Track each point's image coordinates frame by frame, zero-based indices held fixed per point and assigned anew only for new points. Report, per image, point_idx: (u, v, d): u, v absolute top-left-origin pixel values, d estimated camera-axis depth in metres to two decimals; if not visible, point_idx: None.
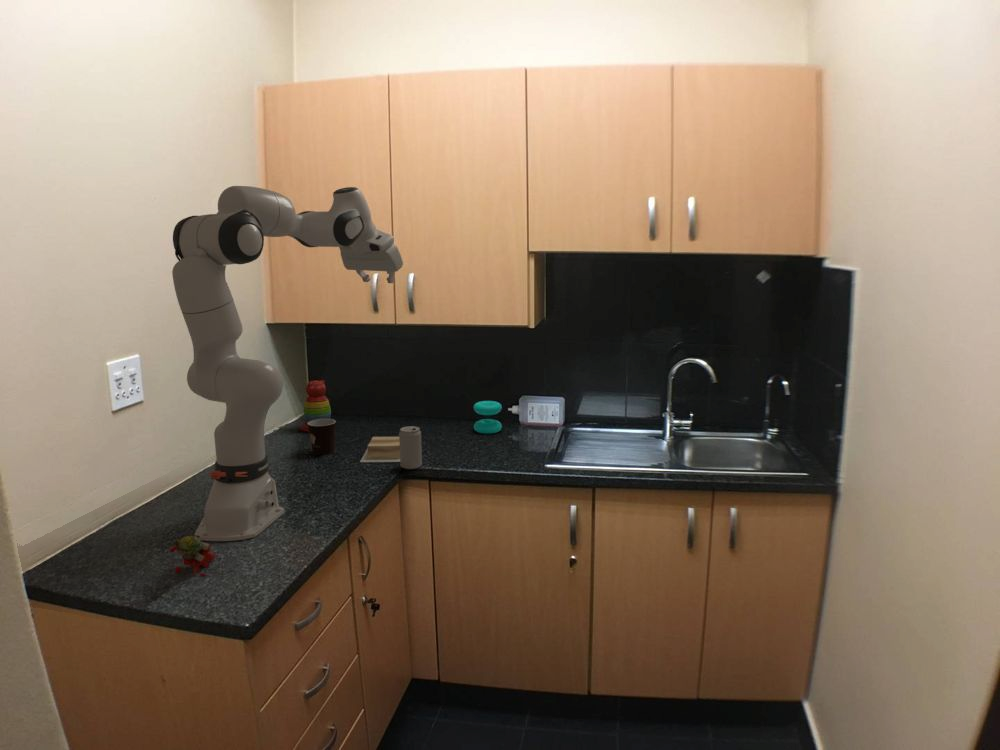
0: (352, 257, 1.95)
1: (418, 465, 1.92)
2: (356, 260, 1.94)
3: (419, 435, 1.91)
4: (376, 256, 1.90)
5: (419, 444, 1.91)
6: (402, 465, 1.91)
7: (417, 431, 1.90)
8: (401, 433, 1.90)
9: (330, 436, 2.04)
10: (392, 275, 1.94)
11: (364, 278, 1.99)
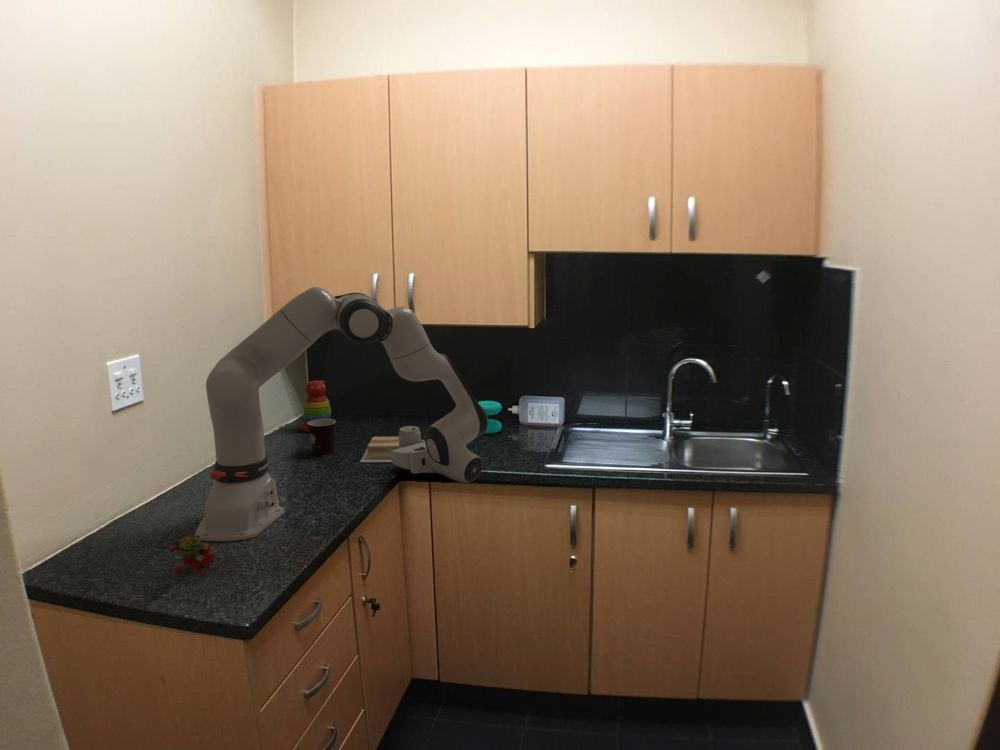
0: None
1: None
2: None
3: (419, 435, 1.90)
4: None
5: None
6: None
7: (416, 431, 1.90)
8: (400, 433, 1.90)
9: (330, 436, 2.04)
10: None
11: (421, 441, 1.94)
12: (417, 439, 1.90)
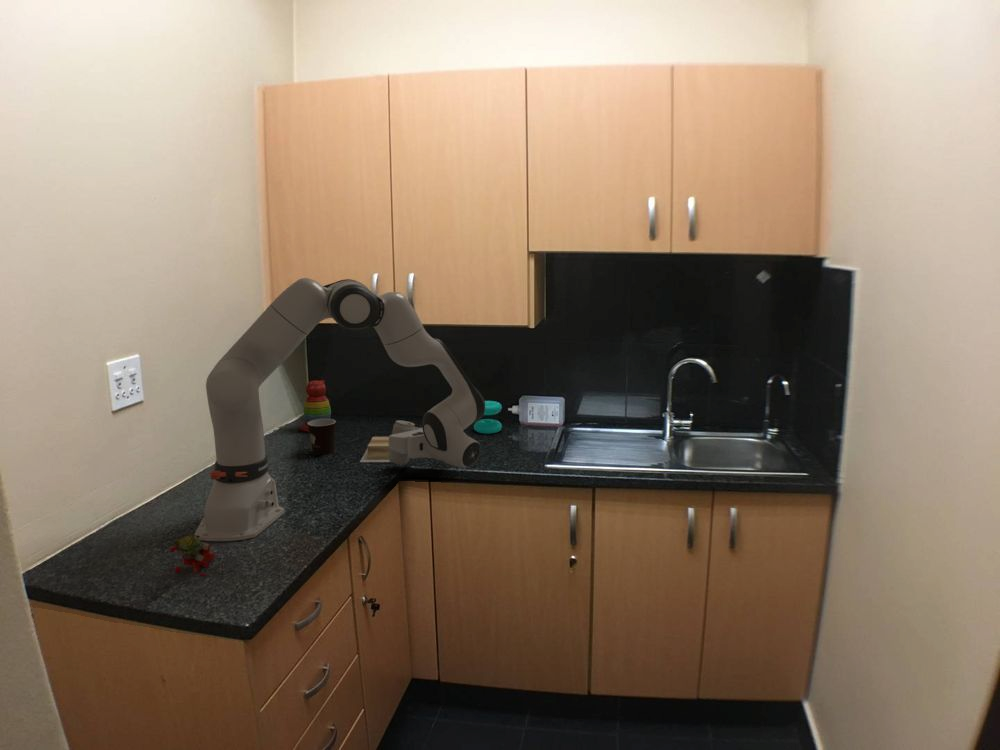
0: None
1: (406, 460, 1.89)
2: None
3: None
4: None
5: None
6: (390, 458, 1.88)
7: (413, 426, 1.89)
8: (397, 425, 1.88)
9: (330, 436, 2.04)
10: None
11: (415, 428, 1.92)
12: None
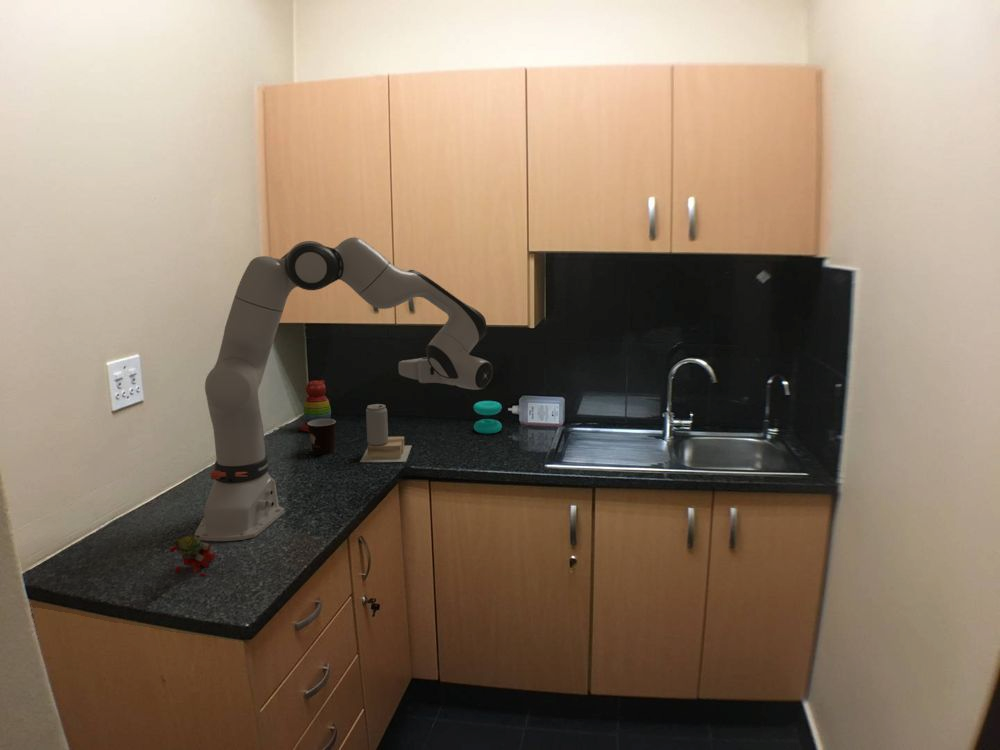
0: None
1: (385, 441, 2.00)
2: None
3: (386, 412, 2.00)
4: None
5: (386, 420, 2.00)
6: (370, 441, 2.00)
7: (384, 408, 1.99)
8: (368, 410, 1.98)
9: (330, 436, 2.04)
10: None
11: None
12: (384, 416, 1.99)
